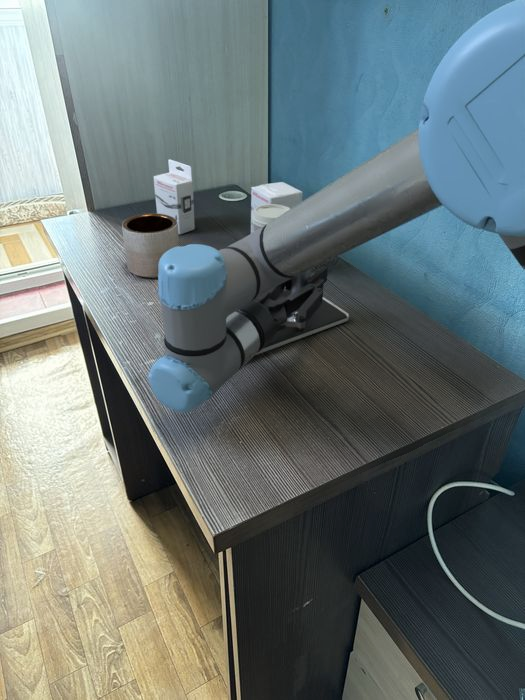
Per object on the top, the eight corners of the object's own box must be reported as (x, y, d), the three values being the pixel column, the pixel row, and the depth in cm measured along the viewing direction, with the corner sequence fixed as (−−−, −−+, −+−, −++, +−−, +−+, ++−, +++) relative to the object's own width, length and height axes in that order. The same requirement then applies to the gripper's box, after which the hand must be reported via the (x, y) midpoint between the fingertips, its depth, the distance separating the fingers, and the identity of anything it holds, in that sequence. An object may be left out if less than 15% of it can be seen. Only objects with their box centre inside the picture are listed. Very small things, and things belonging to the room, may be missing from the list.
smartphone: (177, 331, 87) (176, 322, 86) (304, 291, 100) (304, 282, 99) (216, 372, 78) (216, 363, 77) (350, 322, 91) (351, 313, 90)
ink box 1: (157, 225, 125) (150, 162, 116) (173, 219, 128) (168, 158, 119) (179, 235, 120) (175, 170, 112) (196, 229, 123) (192, 166, 115)
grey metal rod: (310, 315, 89) (316, 245, 82) (300, 322, 87) (305, 251, 80) (295, 310, 91) (300, 240, 83) (285, 316, 89) (290, 246, 81)
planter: (134, 283, 100) (128, 237, 95) (122, 261, 108) (115, 217, 103) (188, 274, 104) (185, 228, 99) (172, 252, 112) (168, 209, 107)
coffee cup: (299, 264, 109) (302, 208, 102) (278, 279, 103) (280, 222, 96) (264, 254, 113) (266, 200, 106) (242, 268, 107) (242, 212, 100)
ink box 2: (300, 241, 119) (303, 191, 112) (268, 249, 115) (270, 197, 108) (280, 229, 125) (282, 180, 118) (249, 235, 121) (250, 185, 114)
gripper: (195, 337, 78) (274, 278, 95) (287, 374, 71) (356, 303, 88) (193, 294, 74) (276, 239, 90) (290, 328, 67) (362, 262, 84)
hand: (315, 270), depth 89 cm, fingers closed on grey metal rod, 3 cm apart
